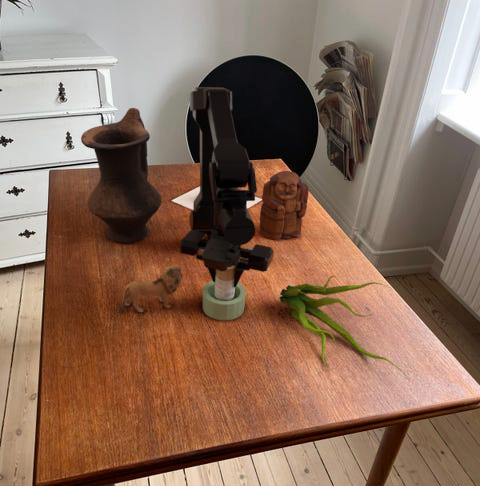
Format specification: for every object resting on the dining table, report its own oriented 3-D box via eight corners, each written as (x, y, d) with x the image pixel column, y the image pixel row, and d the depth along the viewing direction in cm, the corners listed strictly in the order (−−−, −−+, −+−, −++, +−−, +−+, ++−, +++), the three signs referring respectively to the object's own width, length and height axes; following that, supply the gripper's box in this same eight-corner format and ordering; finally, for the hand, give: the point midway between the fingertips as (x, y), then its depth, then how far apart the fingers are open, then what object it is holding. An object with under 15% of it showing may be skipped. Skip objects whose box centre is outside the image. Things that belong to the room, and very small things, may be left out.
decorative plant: (320, 398, 93) (334, 341, 84) (275, 301, 115) (283, 247, 105) (406, 386, 97) (430, 329, 87) (348, 294, 119) (361, 241, 109)
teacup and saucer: (207, 191, 156) (207, 179, 153) (227, 199, 153) (228, 187, 150) (189, 201, 150) (189, 188, 148) (209, 209, 147) (210, 197, 145)
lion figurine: (177, 291, 115) (177, 258, 110) (186, 304, 112) (186, 271, 106) (115, 305, 110) (111, 272, 104) (121, 320, 106) (117, 286, 101)
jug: (145, 259, 125) (137, 139, 106) (79, 244, 128) (59, 126, 109) (176, 221, 141) (174, 111, 122) (116, 208, 144) (105, 100, 125)
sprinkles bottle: (230, 298, 114) (234, 248, 105) (235, 311, 111) (240, 260, 102) (211, 300, 113) (213, 250, 104) (215, 313, 110) (219, 262, 101)
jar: (196, 314, 110) (196, 298, 107) (211, 290, 117) (211, 274, 114) (236, 324, 108) (237, 308, 105) (249, 300, 115) (250, 284, 112)
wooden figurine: (262, 241, 135) (269, 178, 124) (257, 229, 140) (263, 167, 129) (304, 239, 138) (314, 177, 126) (297, 227, 142) (307, 167, 131)
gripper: (167, 227, 94) (170, 294, 104) (262, 248, 90) (255, 315, 100) (190, 203, 102) (190, 267, 112) (278, 221, 98) (270, 286, 108)
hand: (225, 283), depth 108 cm, fingers closed on sprinkles bottle, 4 cm apart
